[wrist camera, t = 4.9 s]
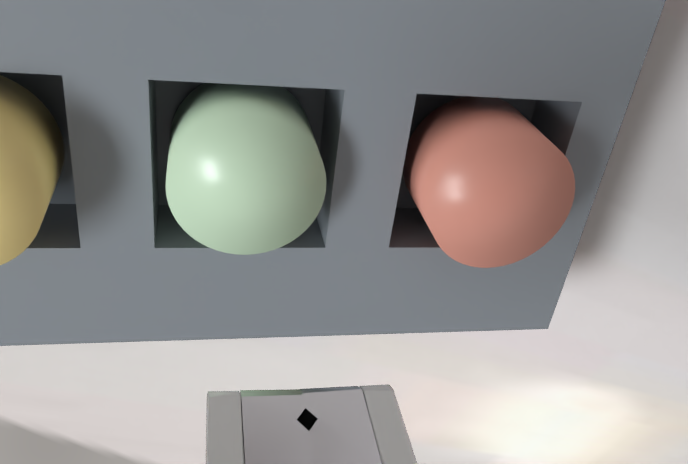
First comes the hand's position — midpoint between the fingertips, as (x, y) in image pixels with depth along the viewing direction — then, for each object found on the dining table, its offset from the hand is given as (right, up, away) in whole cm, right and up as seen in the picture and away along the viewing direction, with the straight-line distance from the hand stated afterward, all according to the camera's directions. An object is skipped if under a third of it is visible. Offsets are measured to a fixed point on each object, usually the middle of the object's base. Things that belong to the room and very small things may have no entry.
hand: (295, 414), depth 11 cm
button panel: (-3, +7, +10) cm, 12 cm away
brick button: (+5, +5, +10) cm, 12 cm away
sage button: (-2, +6, +9) cm, 11 cm away
